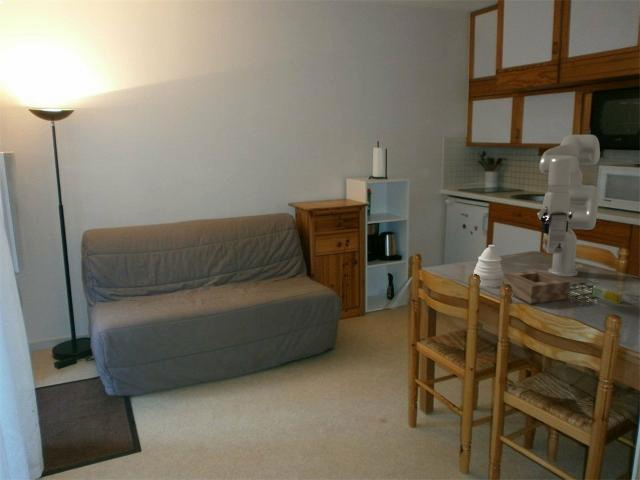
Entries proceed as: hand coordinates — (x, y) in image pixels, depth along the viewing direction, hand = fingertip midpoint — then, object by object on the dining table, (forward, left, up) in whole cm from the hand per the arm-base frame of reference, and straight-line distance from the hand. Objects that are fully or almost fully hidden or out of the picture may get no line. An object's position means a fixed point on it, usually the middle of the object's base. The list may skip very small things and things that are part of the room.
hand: (554, 232), depth 206 cm
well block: (+4, -4, -28) cm, 28 cm away
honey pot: (+12, -26, -28) cm, 40 cm away
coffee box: (0, 0, -8) cm, 8 cm away
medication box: (-21, +8, -28) cm, 36 cm away
